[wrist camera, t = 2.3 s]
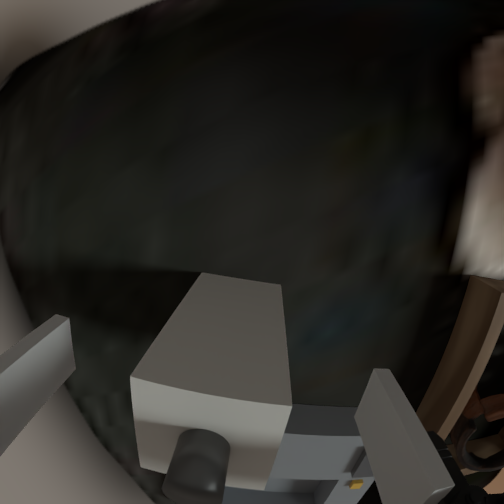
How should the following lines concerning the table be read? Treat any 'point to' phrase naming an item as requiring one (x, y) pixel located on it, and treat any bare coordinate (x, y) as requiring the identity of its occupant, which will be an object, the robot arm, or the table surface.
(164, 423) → the plug
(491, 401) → the pottery mug
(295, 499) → the socket plate
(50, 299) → the table surface
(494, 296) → the mug frame
